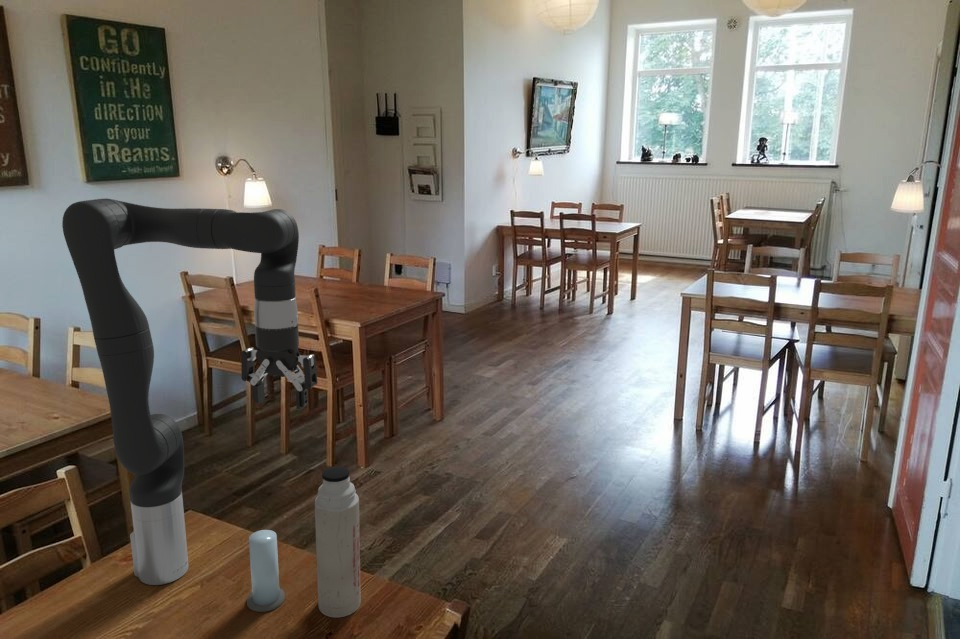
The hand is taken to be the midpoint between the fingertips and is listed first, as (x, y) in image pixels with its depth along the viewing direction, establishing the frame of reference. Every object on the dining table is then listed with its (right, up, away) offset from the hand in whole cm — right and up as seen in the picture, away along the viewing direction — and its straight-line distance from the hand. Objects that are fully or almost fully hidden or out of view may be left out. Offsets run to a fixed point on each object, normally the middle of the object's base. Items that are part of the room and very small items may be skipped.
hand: (280, 405), depth 126 cm
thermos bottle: (+10, -39, +4) cm, 40 cm away
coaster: (-4, -38, +4) cm, 39 cm away
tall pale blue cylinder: (-4, -38, +4) cm, 38 cm away
